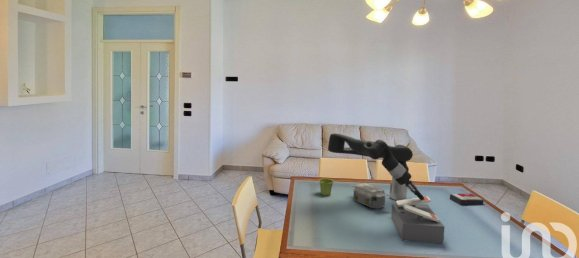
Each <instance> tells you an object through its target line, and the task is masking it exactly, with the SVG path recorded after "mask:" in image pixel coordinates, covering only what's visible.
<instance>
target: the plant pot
mask: <svg viewBox="0 0 579 258" xmlns="http://www.w3.org/2000/svg"><path fill="white" fill-rule="evenodd" d="M318 182H319V187H320V194H321V195H322V196H325V195H326V196H330V195H331V193H332V188H333V184H334V180H333V179H331V178H320V179H319V180H318Z"/></svg>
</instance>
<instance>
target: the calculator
mask: <svg viewBox="0 0 579 258" xmlns="http://www.w3.org/2000/svg"><path fill="white" fill-rule="evenodd" d="M449 200H450V201H452V202H454V203H456V204H457V205H460V206H478V205H479V206H480V205H481V206H482V205H484V199H483V198H481V197H479V196H476V195H474V194H473V193H450V195H449Z"/></svg>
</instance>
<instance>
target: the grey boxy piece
mask: <svg viewBox="0 0 579 258" xmlns="http://www.w3.org/2000/svg"><path fill="white" fill-rule="evenodd" d="M349 186H350V187H353V198H352V199H353V201H356V202H357V203H359V204H362V205H364V206H367V207H369V208H371V209H382V208H383V207H384V206H385V204H386V197H389V196H390V193H389V194H388V193H386V192H385V189H383V188H380V187H377V186H374V185H371V184H369V183H359V184H358V183H357V184H350V185H349Z"/></svg>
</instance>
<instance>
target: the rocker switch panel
mask: <svg viewBox="0 0 579 258" xmlns="http://www.w3.org/2000/svg"><path fill="white" fill-rule="evenodd" d="M391 203H392V204H391V213H390V214H391V215H390V216H391V219H392V222H393V223H394V225H395V228H396V231H397V232H398V236H399V237H401V238H400V239H402V240H401V241H404V240H409V241H408V242H417V241H419V243H432V244H444V237H445V227H446V226H445V225H444V223H443V222H442V221H441V220H440V221H439V222H436V221H434V220H431V219H428V218H426V217H423V216H420V215H418V214H415V213H412V212H410V211H407V210H405V209H404V207H403V206H401V207H398V205H397V203H396V201H392V202H391ZM409 206H412V207H415V208H417V209H420V210H423V211H425V212H428V213H431V214H433V215H436V213H435V212H434V211H433V209H432V208H431V207H430V205H429V204H428V203H421V204H415V205H409ZM436 217H437V218H438V219H439V217H438V216H437V215H436Z"/></svg>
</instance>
